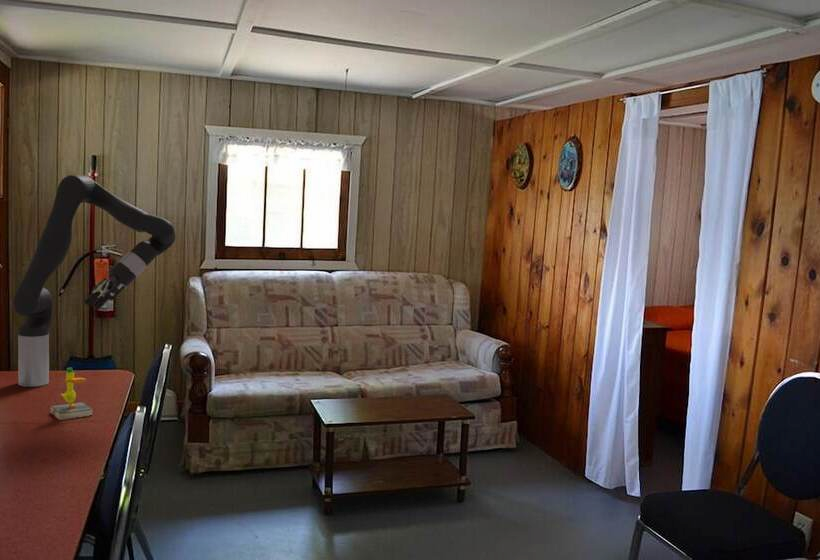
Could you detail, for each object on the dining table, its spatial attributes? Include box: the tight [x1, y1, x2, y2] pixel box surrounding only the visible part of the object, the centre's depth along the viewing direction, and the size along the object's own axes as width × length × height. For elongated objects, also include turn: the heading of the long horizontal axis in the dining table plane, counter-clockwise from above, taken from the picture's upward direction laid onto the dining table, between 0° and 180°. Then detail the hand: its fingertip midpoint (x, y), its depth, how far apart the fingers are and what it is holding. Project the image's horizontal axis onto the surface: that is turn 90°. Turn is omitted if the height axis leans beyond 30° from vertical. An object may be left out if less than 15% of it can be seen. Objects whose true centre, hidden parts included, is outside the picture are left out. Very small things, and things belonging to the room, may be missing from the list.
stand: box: [50, 401, 93, 421], centre depth 209 cm, size 9×9×2 cm
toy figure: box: [60, 366, 86, 408], centre depth 209 cm, size 7×4×12 cm, turn 113°
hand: (90, 305), depth 220 cm, fingers open, 8 cm apart
